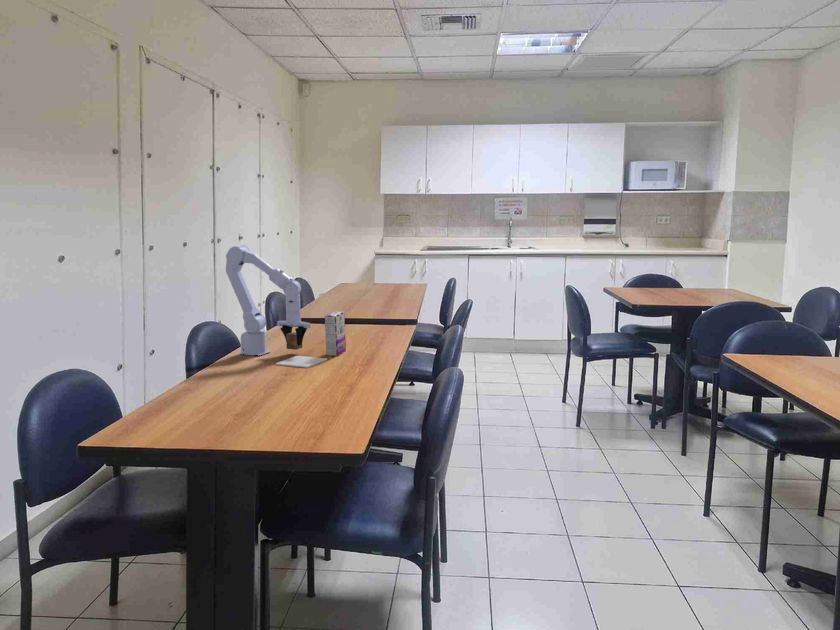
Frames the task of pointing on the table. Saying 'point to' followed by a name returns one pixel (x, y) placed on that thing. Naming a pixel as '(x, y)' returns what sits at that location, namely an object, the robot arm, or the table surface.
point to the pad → (301, 361)
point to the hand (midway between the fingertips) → (294, 344)
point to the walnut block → (292, 341)
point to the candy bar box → (335, 333)
